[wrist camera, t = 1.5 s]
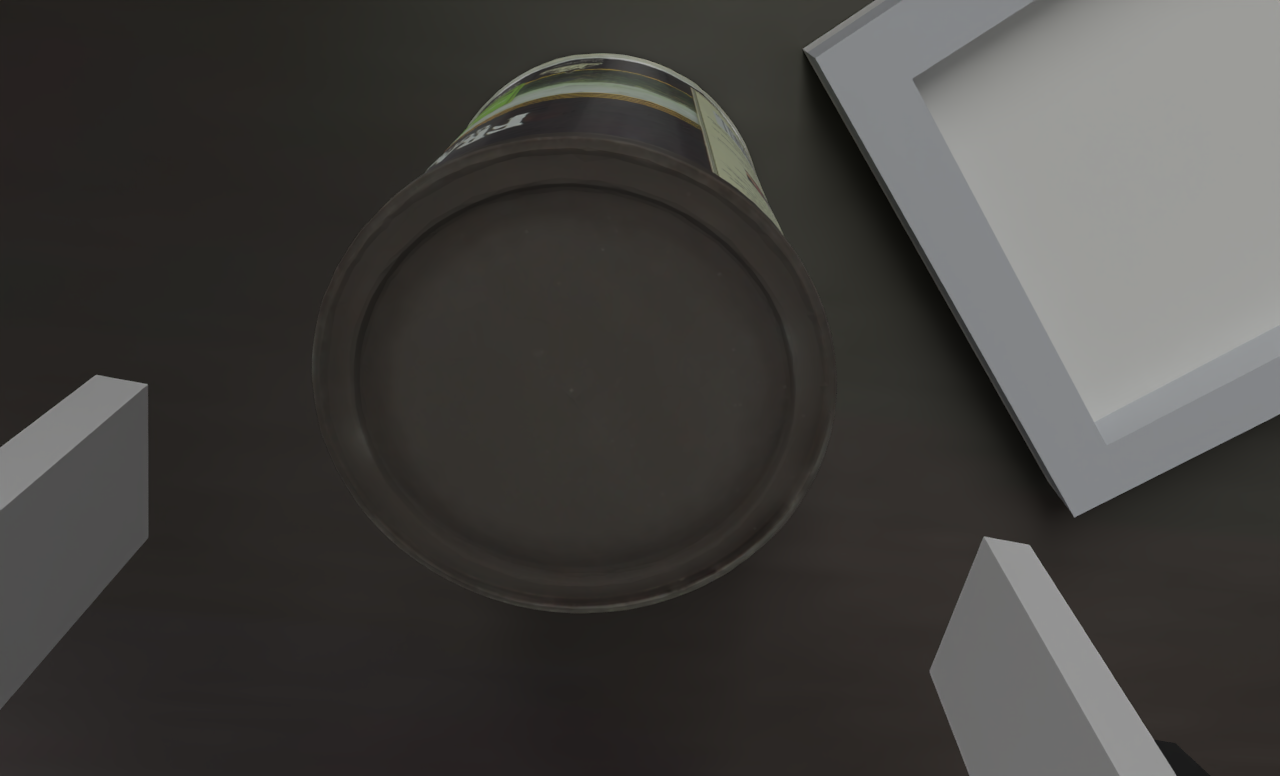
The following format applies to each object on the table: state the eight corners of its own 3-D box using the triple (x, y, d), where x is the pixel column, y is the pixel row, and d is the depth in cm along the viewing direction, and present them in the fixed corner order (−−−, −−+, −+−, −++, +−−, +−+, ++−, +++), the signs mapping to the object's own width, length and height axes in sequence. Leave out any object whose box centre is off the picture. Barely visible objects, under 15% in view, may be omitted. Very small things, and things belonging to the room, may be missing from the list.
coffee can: (386, 250, 33) (216, 451, 20) (563, -21, 29) (497, 10, 16) (636, 417, 35) (630, 692, 22) (827, 186, 32) (950, 354, 19)
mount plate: (802, 49, 30) (815, 57, 28) (1405, -355, 26) (1479, -384, 23) (1047, 481, 36) (1074, 517, 34) (1566, 213, 32) (1637, 234, 29)
